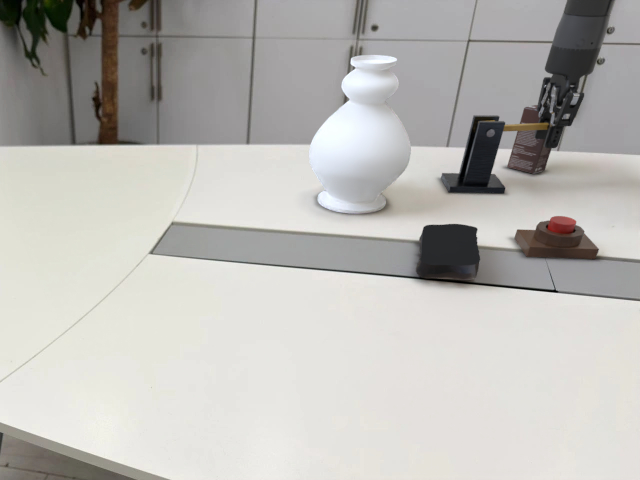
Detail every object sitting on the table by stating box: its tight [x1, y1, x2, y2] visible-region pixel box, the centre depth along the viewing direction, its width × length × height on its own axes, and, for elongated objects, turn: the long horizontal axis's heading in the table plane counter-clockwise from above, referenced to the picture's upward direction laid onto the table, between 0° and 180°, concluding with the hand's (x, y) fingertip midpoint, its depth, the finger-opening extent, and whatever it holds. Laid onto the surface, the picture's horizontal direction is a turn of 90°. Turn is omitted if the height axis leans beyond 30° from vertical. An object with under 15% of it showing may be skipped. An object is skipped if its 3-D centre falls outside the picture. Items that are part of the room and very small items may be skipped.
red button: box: [547, 215, 577, 234], centre depth 107 cm, size 4×4×2 cm
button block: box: [514, 220, 600, 260], centre depth 108 cm, size 10×7×4 cm
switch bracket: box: [440, 114, 506, 195], centre depth 129 cm, size 10×8×13 cm
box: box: [507, 104, 558, 175], centre depth 136 cm, size 6×4×12 cm
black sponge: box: [415, 223, 481, 281], centre depth 105 cm, size 16×8×4 cm, turn 159°
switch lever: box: [491, 118, 551, 133], centre depth 126 cm, size 13×5×2 cm, turn 80°
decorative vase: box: [308, 54, 412, 215], centre depth 122 cm, size 18×18×25 cm
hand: (545, 142), depth 126 cm, fingers closed on switch lever, 5 cm apart
